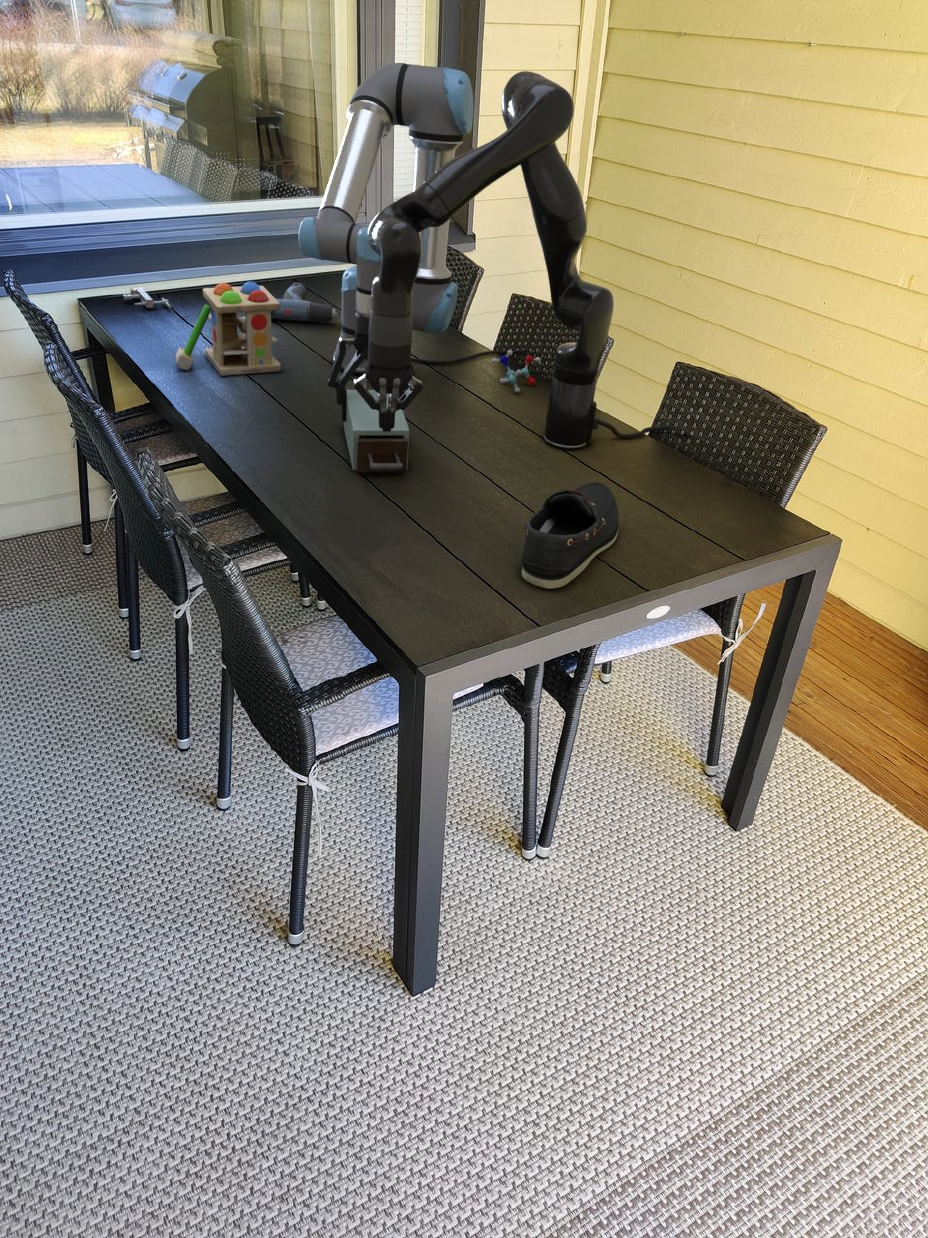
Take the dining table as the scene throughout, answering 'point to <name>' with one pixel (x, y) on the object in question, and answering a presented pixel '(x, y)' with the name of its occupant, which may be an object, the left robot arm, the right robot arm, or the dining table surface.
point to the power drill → (301, 307)
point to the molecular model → (511, 373)
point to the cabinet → (368, 422)
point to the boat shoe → (568, 534)
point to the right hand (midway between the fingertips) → (386, 429)
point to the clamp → (144, 298)
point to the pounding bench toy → (229, 347)
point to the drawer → (381, 453)
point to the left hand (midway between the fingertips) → (371, 419)
